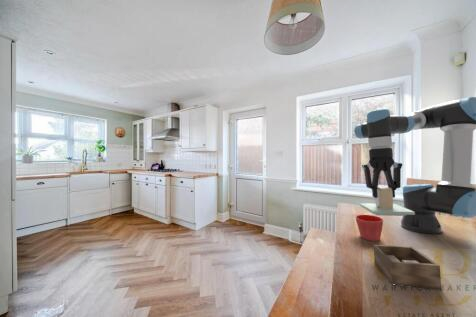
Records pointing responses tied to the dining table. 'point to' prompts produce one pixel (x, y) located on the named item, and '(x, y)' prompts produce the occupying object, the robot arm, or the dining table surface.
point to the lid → (386, 205)
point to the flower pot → (369, 227)
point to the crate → (407, 266)
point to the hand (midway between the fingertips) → (384, 205)
